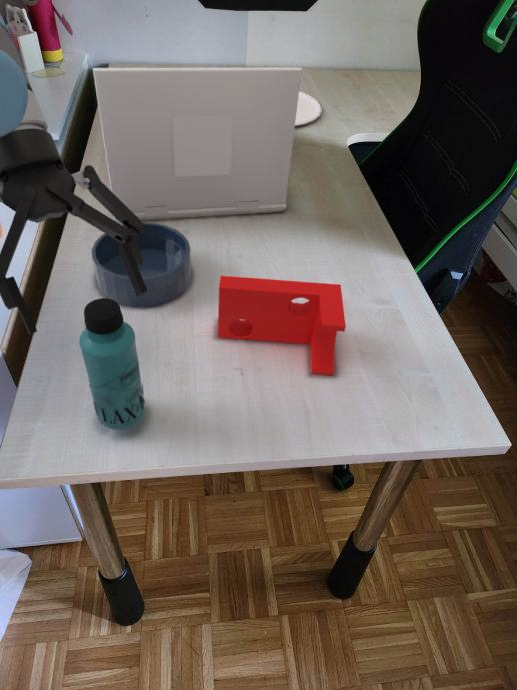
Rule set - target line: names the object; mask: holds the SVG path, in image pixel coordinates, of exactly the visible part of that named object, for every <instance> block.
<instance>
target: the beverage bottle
mask: <svg viewBox="0 0 517 690" xmlns="http://www.w3.org/2000/svg"><path fill="white" fill-rule="evenodd" d="M83 314H84V315H83V317H84V326H85V328H84V329H83V330H82V331H81V333H80V336H79V339H78V343H79V347H80V350H81V353H82V357H83V362H84V366H85V369H86V373H87V378H88V381H87V384H88V383H89V384H88V387H89V389H90V395H91V397H92V402H93V403H92V404H93V408H94V411H95V416H96V417H97V420H98V422H100V424H101V425H103V426H104V427H105V428H106V429H109V430H112V431H123V430H127V429H130V428H132V427H134V426H136V425H137V424H138V423H139V422H140V421H141V420H142V418H143V416H144V413H145V411H146V407H145V405H146V401H145V391H144V384H143V383H142V380H141V379H142V378H141V370H140V365H141V364H140V361H139V358H140V356H138V353H137V344H136V333H135V330H134V329H133V327H132V326H131V325H130V324H129V323H128V322H126V321H124V314H123V313H122V310H121V306H120V304H118V303H117V302H116V301H114V300H112V299H109V298H107V297H103V298H96V299H93V300H91V301H90V302H88V303H87V304H86V305H85V307H84V310H83Z"/></svg>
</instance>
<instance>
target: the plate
mask: <svg viewBox="0 0 517 690" xmlns="http://www.w3.org/2000/svg"><path fill="white" fill-rule="evenodd" d="M322 112H323V110H322V105H321V104H320V103H319V101H318V100H317V99H316V98H314V97H312V96H311V95H309V94H308V93H305V92H303V91H300V90H299V96H298V104H297V112H296V121H295V127H298V126H304V125H307V124H310V123H312V122H314V121H315V120H317V119H318V118H320V116H321V114H322Z"/></svg>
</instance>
